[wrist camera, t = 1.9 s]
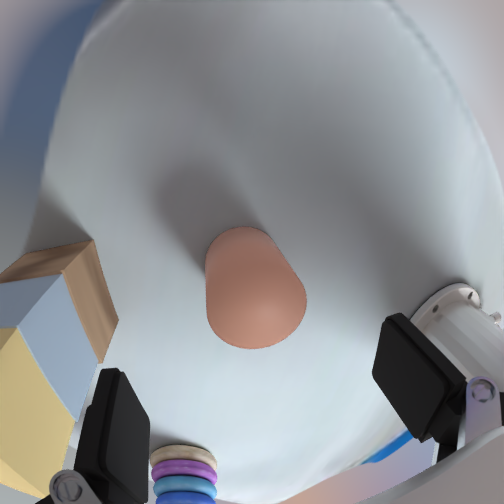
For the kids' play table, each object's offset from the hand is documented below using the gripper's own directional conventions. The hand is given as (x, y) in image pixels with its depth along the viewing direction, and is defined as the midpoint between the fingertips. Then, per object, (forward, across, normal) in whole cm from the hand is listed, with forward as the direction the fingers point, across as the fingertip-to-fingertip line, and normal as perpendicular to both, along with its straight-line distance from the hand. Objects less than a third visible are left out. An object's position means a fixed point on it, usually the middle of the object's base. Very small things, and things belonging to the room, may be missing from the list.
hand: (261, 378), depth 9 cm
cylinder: (+11, -1, +1) cm, 11 cm away
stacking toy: (+11, +9, +25) cm, 28 cm away
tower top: (+1, +12, 0) cm, 12 cm away
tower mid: (+6, +12, 0) cm, 14 cm away
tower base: (+11, +12, +1) cm, 17 cm away
